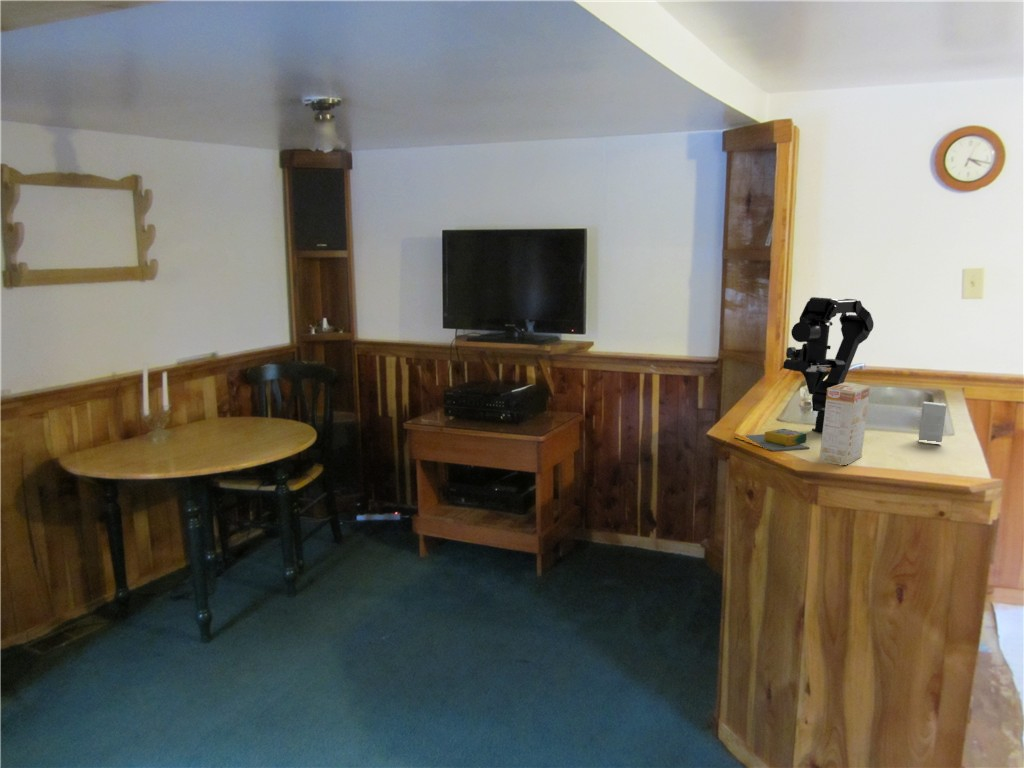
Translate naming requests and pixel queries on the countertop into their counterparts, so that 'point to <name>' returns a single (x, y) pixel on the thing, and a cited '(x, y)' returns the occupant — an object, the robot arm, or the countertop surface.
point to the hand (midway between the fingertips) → (811, 394)
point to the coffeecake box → (844, 423)
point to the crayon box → (784, 437)
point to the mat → (760, 439)
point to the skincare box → (932, 421)
